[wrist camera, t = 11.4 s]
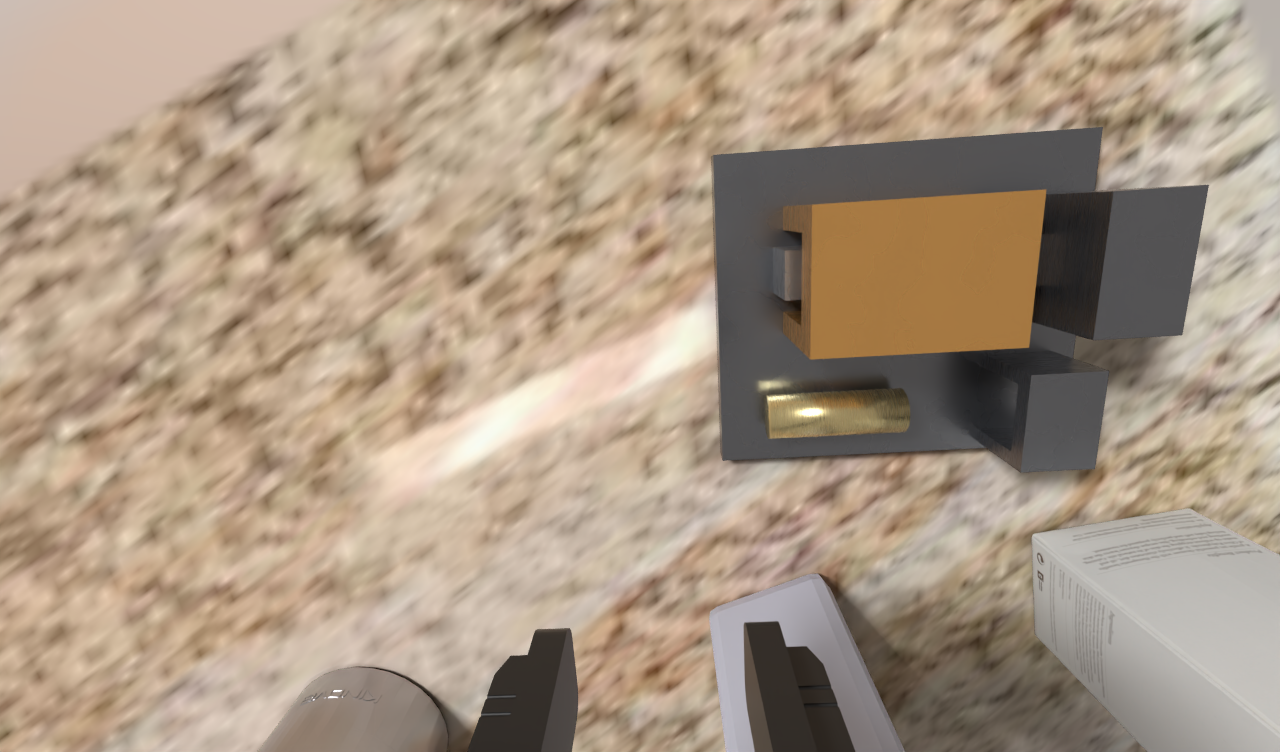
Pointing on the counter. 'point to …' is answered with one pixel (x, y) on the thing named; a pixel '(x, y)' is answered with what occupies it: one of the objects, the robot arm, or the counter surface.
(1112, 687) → the skincare box
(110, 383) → the counter surface
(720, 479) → the counter surface
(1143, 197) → the stand
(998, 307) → the block
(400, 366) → the counter surface
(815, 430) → the pin
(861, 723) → the soap bottle
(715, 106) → the counter surface
